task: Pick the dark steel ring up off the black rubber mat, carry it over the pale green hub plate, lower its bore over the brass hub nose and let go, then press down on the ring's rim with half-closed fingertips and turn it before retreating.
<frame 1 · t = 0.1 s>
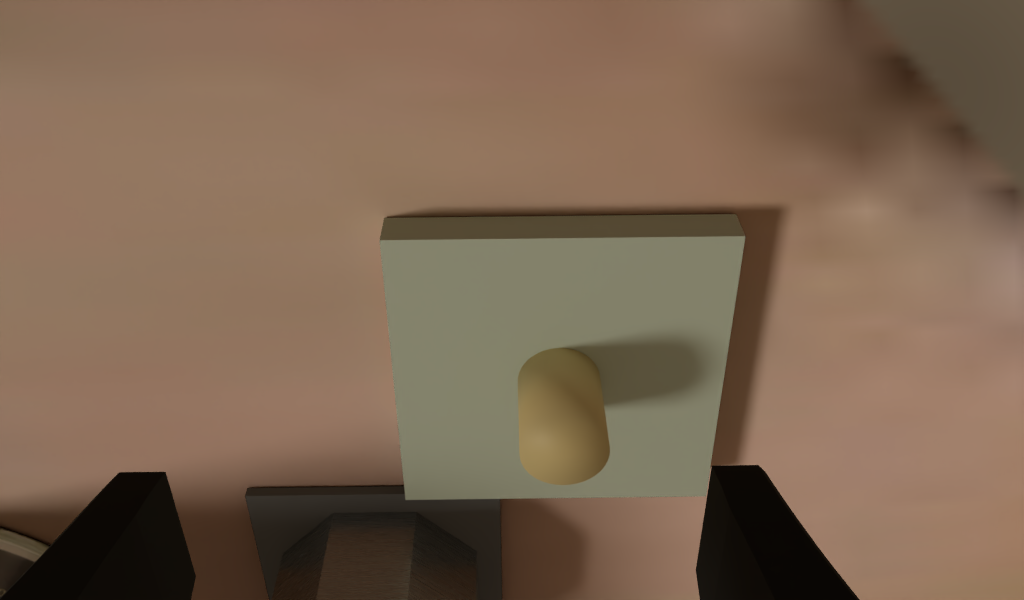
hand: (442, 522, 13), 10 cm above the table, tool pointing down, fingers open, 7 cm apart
ring: (383, 578, 28), resting on mat
mat: (384, 570, 28), on the table
hub: (556, 355, 24), on the table
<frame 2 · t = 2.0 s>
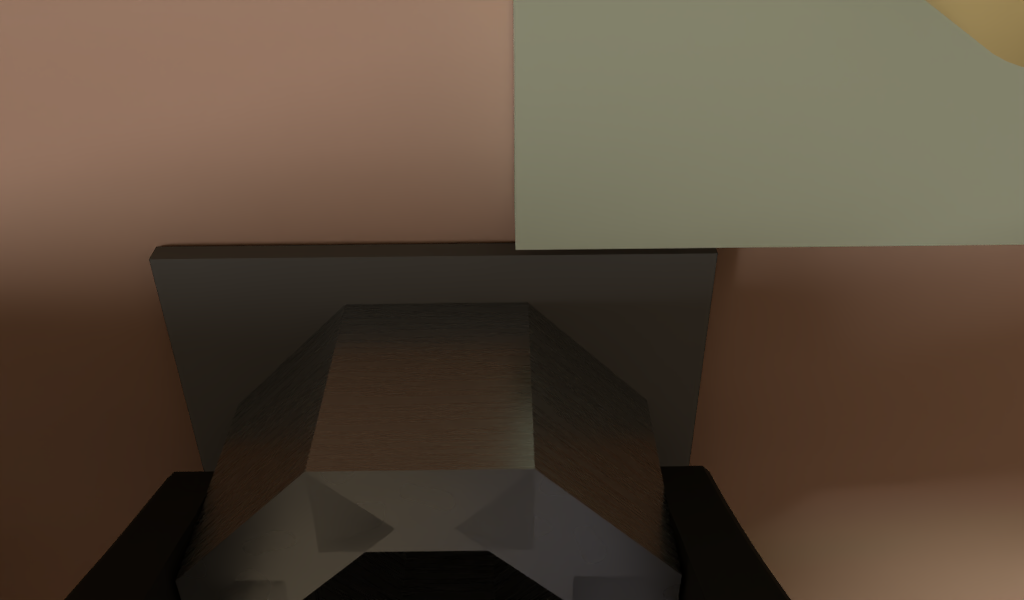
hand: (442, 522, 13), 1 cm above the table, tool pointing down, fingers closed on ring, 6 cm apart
ring: (446, 464, 14), resting on mat, touching gripper
mat: (447, 449, 14), on the table
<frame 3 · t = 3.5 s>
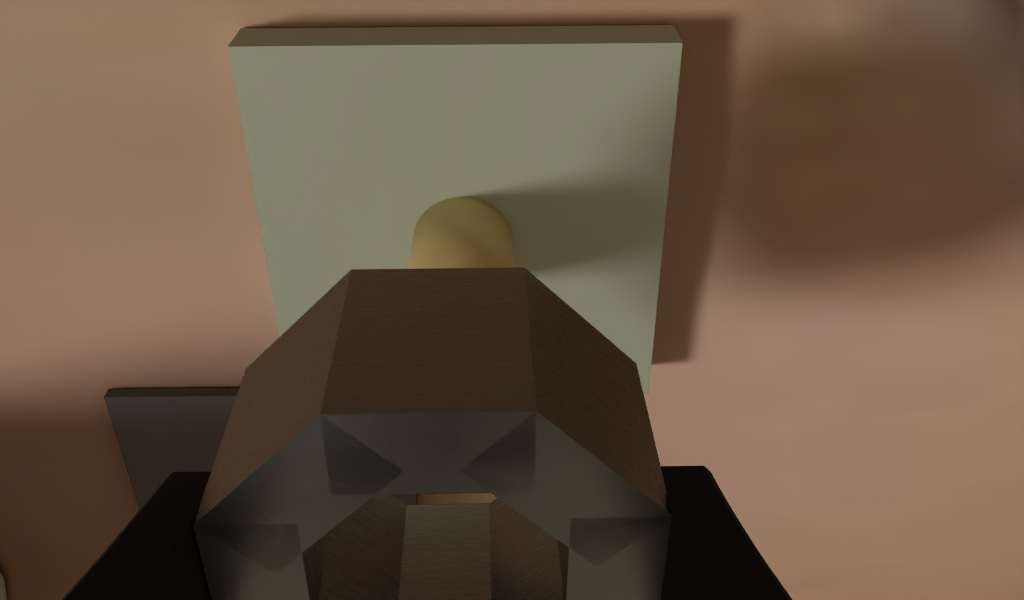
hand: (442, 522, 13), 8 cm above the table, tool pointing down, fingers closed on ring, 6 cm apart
ring: (444, 427, 14), point 7 cm above the table, touching gripper
mat: (279, 494, 24), on the table
hub: (464, 217, 20), on the table
when the fingers open (4 cm above the table, at t = 4.9 s): ring drops 1 cm, resting on hub.
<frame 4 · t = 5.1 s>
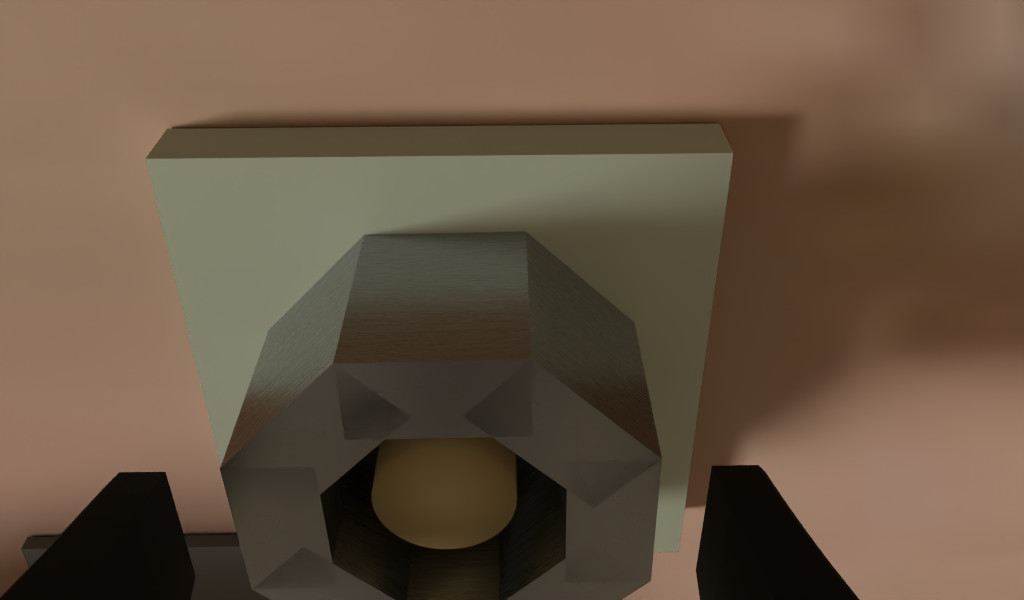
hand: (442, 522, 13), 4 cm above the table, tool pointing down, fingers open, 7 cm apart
ring: (455, 385, 15), point 1 cm above the table, touching hub
hub: (454, 347, 16), on the table
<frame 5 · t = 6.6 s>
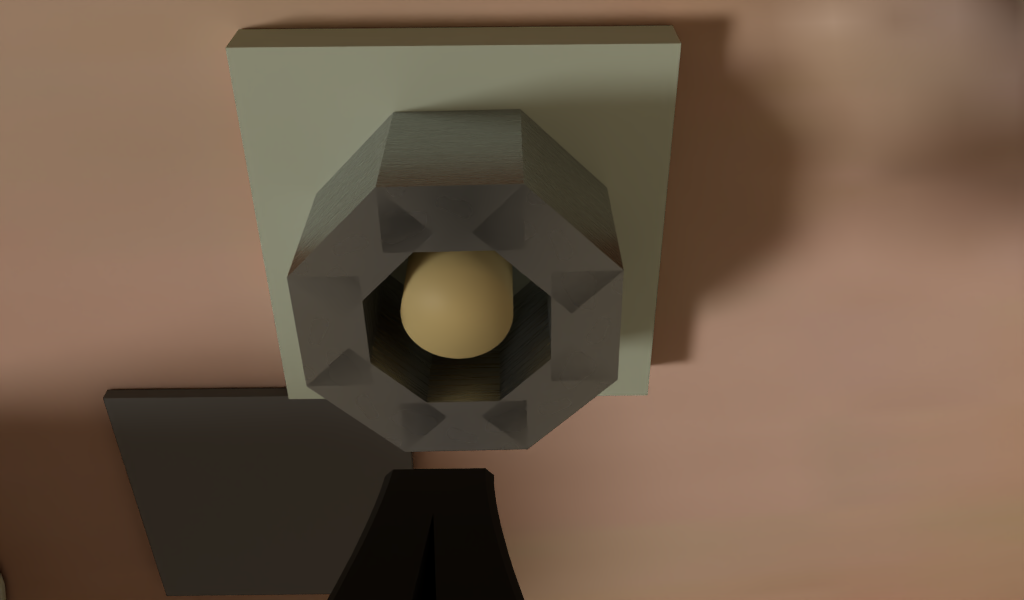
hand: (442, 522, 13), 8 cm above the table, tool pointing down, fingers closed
ring: (464, 242, 19), point 1 cm above the table, touching hub
mat: (278, 494, 24), on the table
hub: (463, 217, 20), on the table
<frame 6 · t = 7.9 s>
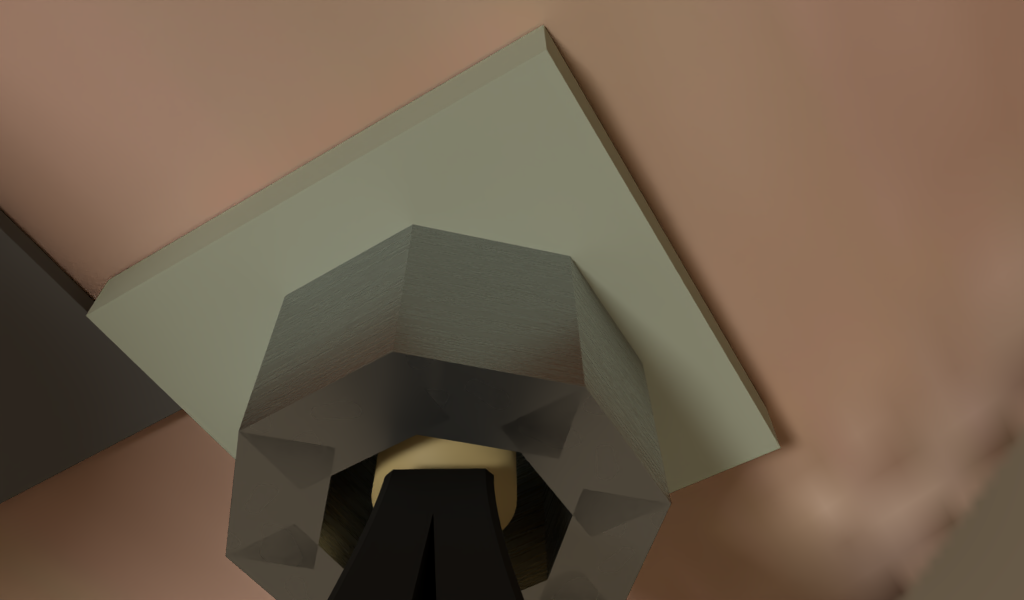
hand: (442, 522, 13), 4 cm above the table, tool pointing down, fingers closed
ring: (453, 387, 15), point 1 cm above the table, touching hub
hub: (454, 347, 16), on the table
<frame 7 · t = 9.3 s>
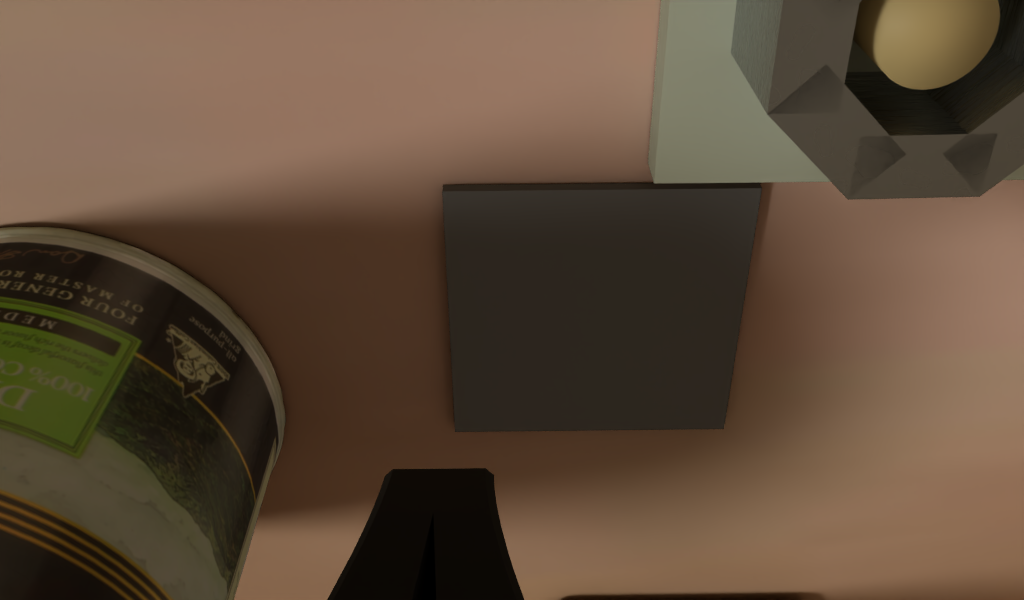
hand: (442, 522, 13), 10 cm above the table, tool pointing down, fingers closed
coffee can: (87, 392, 24), on the table
mat: (594, 313, 23), on the table
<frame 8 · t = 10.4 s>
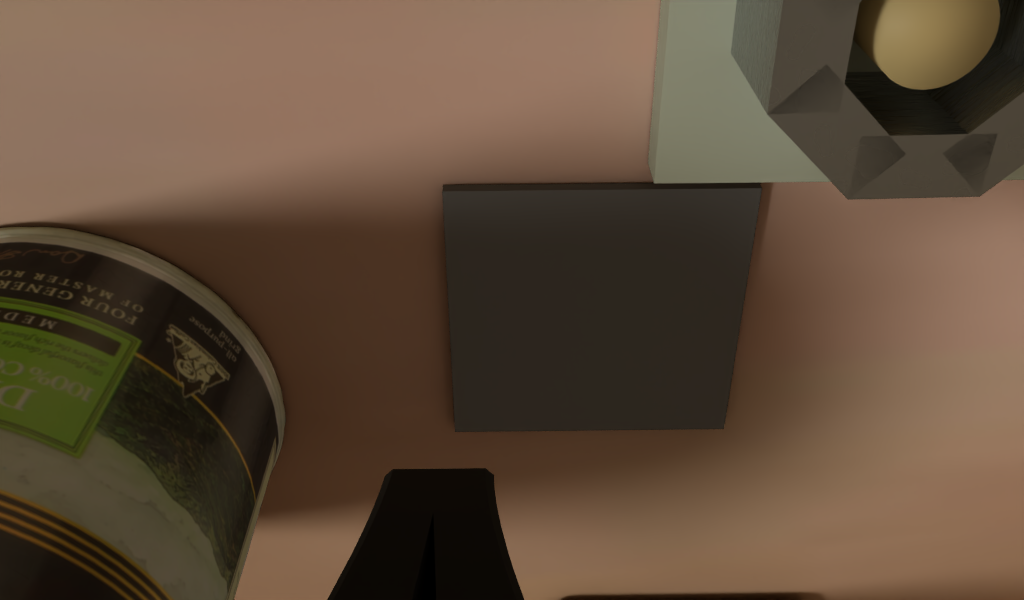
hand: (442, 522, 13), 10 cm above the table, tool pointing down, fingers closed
coffee can: (87, 392, 24), on the table
mat: (594, 313, 23), on the table
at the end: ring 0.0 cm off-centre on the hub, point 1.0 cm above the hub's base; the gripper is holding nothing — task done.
